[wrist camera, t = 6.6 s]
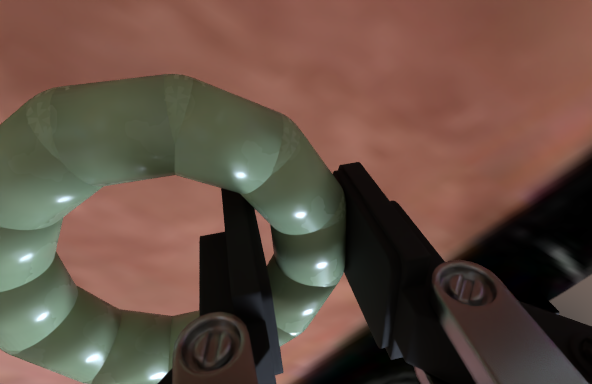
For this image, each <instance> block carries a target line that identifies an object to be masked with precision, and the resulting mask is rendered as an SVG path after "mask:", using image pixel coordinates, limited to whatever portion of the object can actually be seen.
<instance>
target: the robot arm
mask: <svg viewBox="0 0 592 384" xmlns="http://www.w3.org/2000/svg"><path fill="white" fill-rule="evenodd" d="M333 175H334V177H335V178H336V180H337V181H338V182H339V184H340V185H341V187H342V189H343V191H344V194H345V198H346V204H347V212H346V254H345V268H344V273H345V275H346V277H347V280H348V282H349V284H350V286H351V288H352V291H353V293H354V295H355V297H356V299H357V302H358V304H359V306H360V308H361V311H362V313H363V315H364V317H365V319H366V322H367V324H368V326H369V328H370V330H371V333H372V335H373V337H374V339H375V341H376V343H377V345H378V347H379V348H380V349H381V348H386V350H387V352H388V354H389V357H390V359H391V360H392V359H396V358H400V357H403V358H404V360H405V362H407V363H409V364H411V365H413V366H414V369H415V372H416V375H417V377H418V379H419V381H420V383H421V384H592V326H588V325H586V324H583V323H580V322H577V321H575V320H572V319H569V318H566V317H563V316H560V315H558V314H555V313H552V312H549V311H546V310H544V309H541V308H538V307H535V306H532V305H529V304H527V303H524V302H521V301H518V300H517V299H516V298H515V297H514V296H513V295H512V293H511V292H510V291H509V290H508V289H507V288H506V286H505V285H504V284H503V283H502V282H501V281H500V279H499V278H498V277H496V276H495V275H494V274H493V273H492V272H491V271H489V270H488V269H486V268H484V267H483V266H481V265H478V264H475V263H472V262H468V261H462V260H454V261H448V262H445V261H444V260H443V259H442V258H441V256H440V255H439V254H438V253H437V251H436V250H435V249H434V248H433V246H432V245H431V244H430V243H429V241H428V240H427V239H426V238H425V236H424V235H423V234H422V233H421V231H420V230H419V229H418V228H417V226H416V225H415V224H414V223H413V221H412V220H411V219H410V218H409V216H408V215H407V214H406V212H405V211H404V210H403V209H402V207H401V206H400V205H399V204H398V203H397V202H396V201H389V200H388V198H387V197H386V196H385V194H384V193H383V192H382V191H381V189H380V188H379V187H378V185H377V184H376V183H375V181H374V180H373V179H372V178H371V176H370V175H369V174H368V172H367V171H366V170H365V169H364V167H363V166H362V165H361V163H359V162H356V163H350V164H344V165H340V166H339V169H338V171H334V172H333ZM221 191H222V202H223V213H224V223H225V232H221V233H216V234H210V235H205V236H200V303H199V317H198V318H196V319H195V320H193V321H192V322H190V323H189V324H188V325H187V326H186V327H185V328H184V329H183V330H182V331H181V332H180V334H179V336H178V338H177V339H176V341H175V344H174V349H173V357H172V369H171V370H170V371H169V372H168V373H167V374H166V375H165V376H164V377H163V378H162V379H161V381H160V382H159V383H158V384H276V379H275V375H277V374H281V373H283V366H282V359H281V352H280V345H279V338H278V331H277V324H276V317H275V311H274V304H273V297H272V291H271V285H270V280H269V275H268V271H267V266H266V261H265V257H264V252H263V247H262V243H261V238H260V233H259V229H258V224H257V220H256V215H255V210H254V207H253V206H252V205H251V204H250V203H249V202H248V201H247V200H246V199H245V198H244V197H243V196H242V195H241V194H240V193H237V192H233V191H230V190H226V189H223V188H221Z"/></svg>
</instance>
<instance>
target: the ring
mask: <svg viewBox="0 0 592 384" xmlns="http://www.w3.org/2000/svg"><path fill="white" fill-rule="evenodd" d="M171 175H177V176H181V177H184V178H188V179H191V180H195V181H198V182H202V183H205V184H209V185H212V186H216V187H219V188H223V189H226V190H230V191H233V192H237V193H240V194H241V195H242V196H243V197H244V198H245V199H246V200H247V201H248V202H249V203H250V204H251V205H252V206H253V207H254V208H255V209H256V210H257V211H258V212H259V213H260V214H261V215H262V216H263V217H264V218H265V219H266V220H267V221H268V222H269V223H270V225H271V233H272V241H273V249H274V254H273V256H272V258H271V260H270V261H269V263H268V265H267V271H268V275H269V280H270V285H271V291H272V297H273V304H274V311H275V317H276V324H277V331H278V338H279V345H280V346H282V345H283V344H285V343H287V342H288V341H290V340H292V339H293V338H295V337H297V336H298V335H299V334H301V333H302V332H303V331H304V330H305V329H306V328H307V327H308V325H309V324H310V322H311V321H312V320H313V318H314V317H315V315H316V314H317V312H318V311H319V309H320V308H321V307H322V305H323V304H324V302H325V301H326V299H327V298H328V296H329V295H330V294H331V292H332V291H333V289H334V288H335V286H336V285H337V284H338V282H339V281H340V279H341V277H342V275H343V272H344V268H345V254H346V212H347V204H346V198H345V194H344V191H343V189H342V187H341V185H340V184H339V182H338V181H337V180H336V178H335V177H334V175H333V174H332V173H331V171H330V170H329V169H328V167H327V166H326V164H325V163H324V162H323V160H322V159H321V158H320V156H319V155H318V154H317V152H316V151H315V149H314V148H313V147H312V145H311V144H310V143H309V141H308V140H307V138H306V137H305V136H304V134H303V133H302V132H301V130H300V129H299V128H298V126H297V125H296V124H295V123H294V122H293V121H292V120H291V119H290V118H288V117H287V116H285V115H283V114H281V113H279V112H277V111H275V110H272V109H270V108H267V107H265V106H262V105H260V104H257V103H255V102H252V101H250V100H247V99H245V98H242V97H240V96H237V95H235V94H232V93H230V92H227V91H225V90H222V89H220V88H217V87H215V86H212V85H210V84H207V83H205V82H202V81H200V80H197V79H195V78H192V77H188V76H185V75H179V74H163V75H155V76H146V77H138V78H129V79H121V80H112V81H104V82H95V83H87V84H78V85H70V86H61V87H56V88H51V89H48V90H46V91H43V92H41V93H39V94H37V95H35V96H34V97H33V98H31V99H30V100H29V101H27V102H26V103H25V104H24V105H23V106H22V107H20V108H19V109H18V110H17V111H16V112H15V113H13V114H12V115H11V116H10V117H9V118H8V119H6V120H5V121H4V122H3V123H2V124H0V349H1V350H3V351H4V352H6V353H8V354H10V355H12V356H15V357H17V358H20V359H22V360H25V361H28V362H30V363H33V364H35V365H38V366H41V367H43V368H46V369H48V370H51V371H53V372H56V373H59V374H61V375H64V376H66V377H69V378H71V379H74V380H77V381H79V382H82V383H86V384H158V383H159V382H160V381H161V379H162V378H163V377H164V376H165V375H166V374H167V373H168V372H169V371H170V370H171V369H172V357H173V349H174V344H175V341H176V339H177V338H178V336H179V334H180V332H181V331H182V330H183V329H184V328H185V327H186V326H187V325H188V324H189V323H190V322H192V321H193V320H195V319H196V318H198V317H199V310H198V311H194V312H189V313H184V314H180V315H175V316H168V315H160V314H152V313H144V312H136V311H128V310H120V309H118V308H116V307H114V306H112V305H111V304H109V303H107V302H105V301H103V300H102V299H100V298H98V297H96V296H94V295H93V294H91V293H89V292H87V291H85V290H84V289H82V288H80V287H78V286H76V285H75V283H74V281H73V280H72V278H71V276H70V275H69V273H68V271H67V269H66V268H65V266H64V264H63V263H62V261H61V259H60V258H59V256H58V254H57V252H56V248H57V243H58V239H59V234H60V229H61V225H62V220H63V217H64V216H66V215H67V214H68V213H69V212H71V211H72V210H73V209H75V208H76V207H77V206H79V205H80V204H81V203H82V202H84V201H85V200H86V199H88V198H89V197H90V196H92V195H93V194H94V193H96V192H97V191H98V190H99V189H101V188H102V187H103V186H108V185H114V184H121V183H127V182H133V181H140V180H146V179H152V178H159V177H165V176H171Z"/></svg>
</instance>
